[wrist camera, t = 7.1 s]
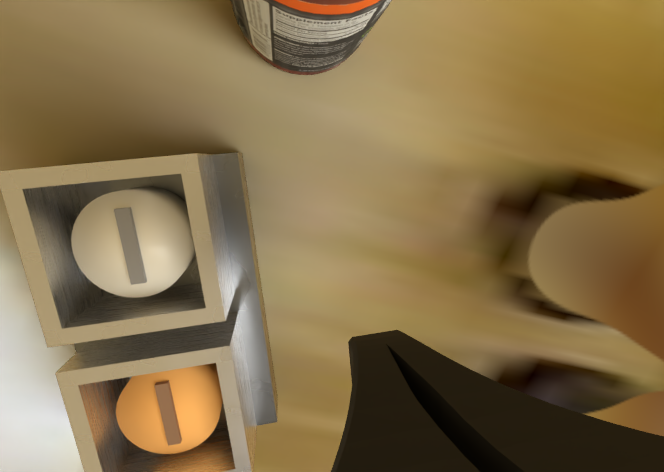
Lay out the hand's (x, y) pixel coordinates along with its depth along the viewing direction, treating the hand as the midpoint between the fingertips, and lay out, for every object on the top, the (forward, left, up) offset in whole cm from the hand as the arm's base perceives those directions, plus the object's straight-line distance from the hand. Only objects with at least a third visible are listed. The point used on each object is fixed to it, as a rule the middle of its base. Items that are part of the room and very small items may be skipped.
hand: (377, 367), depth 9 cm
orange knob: (-4, +8, -7) cm, 11 cm away
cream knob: (+3, +8, -7) cm, 11 cm away
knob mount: (0, +8, -9) cm, 12 cm away
